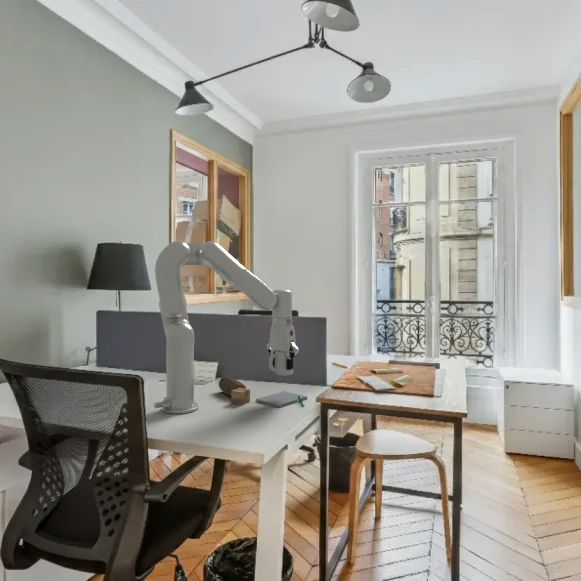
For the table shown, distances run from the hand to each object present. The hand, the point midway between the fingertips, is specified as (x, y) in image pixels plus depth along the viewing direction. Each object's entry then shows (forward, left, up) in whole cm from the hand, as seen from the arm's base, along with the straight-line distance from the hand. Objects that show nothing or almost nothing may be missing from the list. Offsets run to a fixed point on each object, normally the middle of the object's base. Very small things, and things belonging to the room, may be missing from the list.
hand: (282, 367), depth 175 cm
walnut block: (-13, +9, -13) cm, 20 cm away
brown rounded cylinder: (-8, +20, -13) cm, 25 cm away
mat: (0, 0, -13) cm, 13 cm away
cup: (0, +1, -3) cm, 3 cm away
